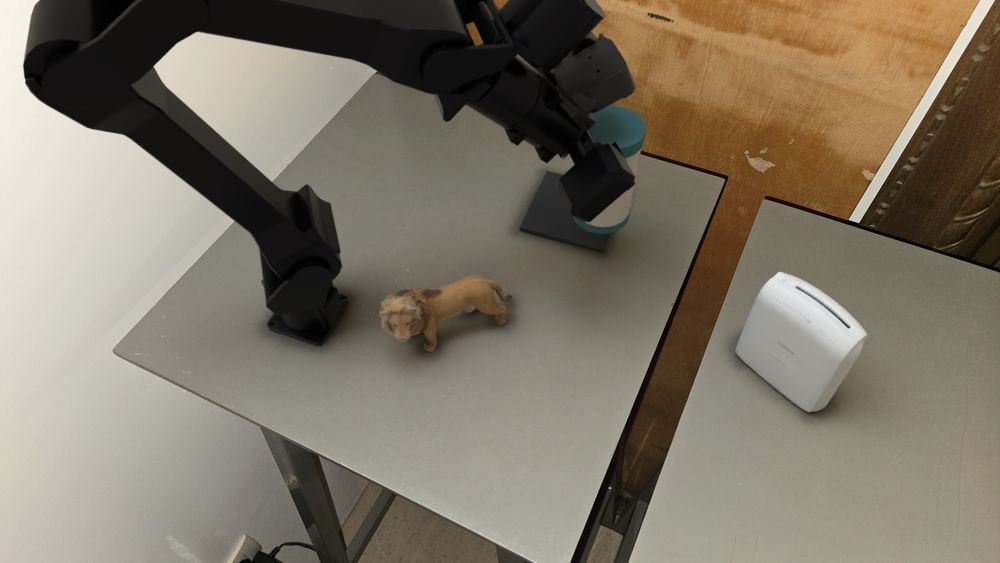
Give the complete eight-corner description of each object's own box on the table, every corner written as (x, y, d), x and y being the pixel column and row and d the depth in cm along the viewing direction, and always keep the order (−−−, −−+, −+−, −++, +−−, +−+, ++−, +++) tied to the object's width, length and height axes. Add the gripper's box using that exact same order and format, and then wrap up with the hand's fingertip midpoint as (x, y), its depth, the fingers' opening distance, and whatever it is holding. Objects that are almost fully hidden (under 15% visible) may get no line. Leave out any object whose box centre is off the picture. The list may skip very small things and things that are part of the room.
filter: (590, 241, 79) (602, 156, 69) (561, 203, 82) (568, 116, 73) (640, 221, 80) (658, 135, 71) (609, 185, 84) (623, 97, 74)
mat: (519, 230, 88) (519, 227, 87) (546, 173, 93) (546, 170, 93) (602, 253, 85) (602, 250, 85) (625, 194, 91) (625, 190, 91)
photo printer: (726, 351, 77) (757, 277, 67) (753, 329, 79) (787, 253, 69) (809, 422, 72) (856, 352, 62) (836, 396, 74) (886, 325, 64)
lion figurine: (401, 380, 75) (390, 329, 68) (377, 342, 78) (365, 290, 71) (524, 315, 80) (526, 261, 73) (497, 281, 83) (496, 227, 76)
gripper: (626, 97, 57) (726, 175, 67) (547, -30, 68) (643, 54, 78) (524, 193, 61) (632, 251, 72) (466, 60, 73) (567, 127, 83)
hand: (619, 165), depth 76 cm, fingers closed on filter, 6 cm apart
